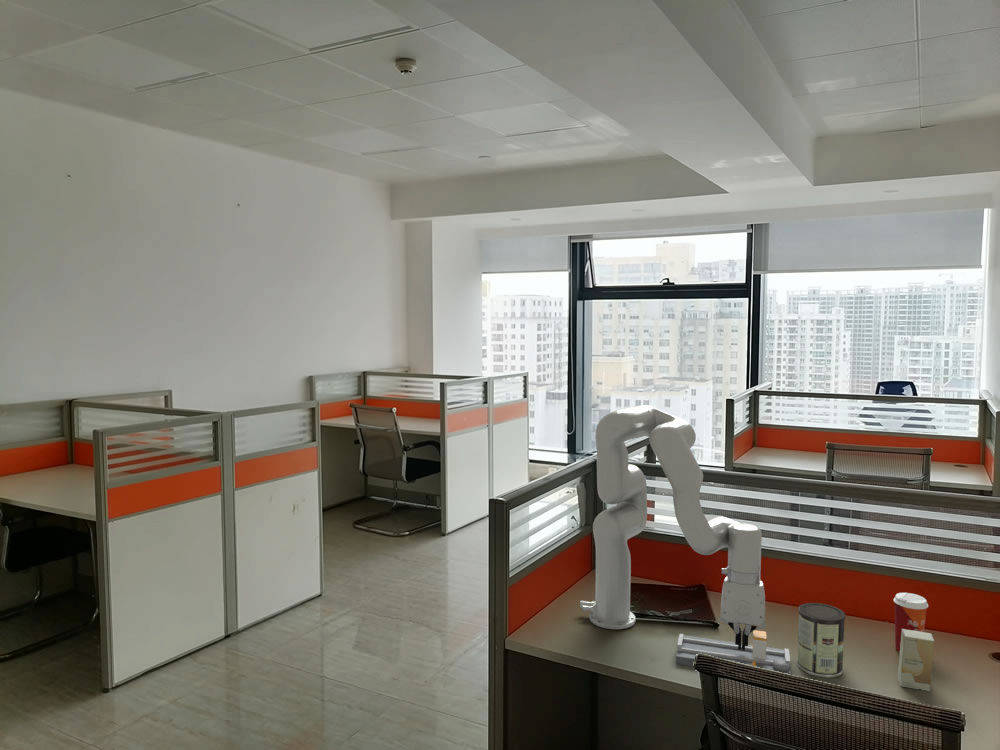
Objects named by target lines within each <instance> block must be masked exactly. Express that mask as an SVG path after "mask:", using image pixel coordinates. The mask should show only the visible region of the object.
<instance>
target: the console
mask: <svg viewBox="0 0 1000 750" xmlns="http://www.w3.org/2000/svg"><path fill="white" fill-rule="evenodd" d="M752 651H753V644H749V643H748V646H745V651H743V650H742V642H741V650H738V645H735V641H734V642H733V641H726V640H719V639H713V638H706V637H705V638H704V637H700V636H692V635H685V634H684V633H679V635H678V640H677V645H676V654H675V664H676V665H681V666H687V667H688V666H689V667H693V662H694V659H695V656H696V654H698V653H702V654H707V655H711V656H714V657H718V658H721V659H726V660H730V661H735V662H740V663H744V664H749V665H752V666H757V667H760V668H765V669H770V670H774V671H779V672H782V673H788V674H790V675H791V655H790V649H789V648H787V647H786V648H777V647H776V648H775V647H769V646H766V660H764V659H757V658H753V656H752Z"/></svg>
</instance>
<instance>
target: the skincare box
mask: <svg viewBox="0 0 1000 750" xmlns="http://www.w3.org/2000/svg"><path fill="white" fill-rule="evenodd" d="M934 648H935V639H934V637H933V634H932V633H929V632H926V631H924V632H920V631H914V630H906V629H902V632H901V644H900V653H899V657H898V670H897V680H898V684H899V686H900V687H904V688H909V689H915V690H919V689H921V690H920V691H925V690H926V691H925V692H930V691H931V685H932V683H931V682H932V671H933V658H934Z"/></svg>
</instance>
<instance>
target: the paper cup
mask: <svg viewBox="0 0 1000 750" xmlns="http://www.w3.org/2000/svg"><path fill="white" fill-rule="evenodd" d="M893 602H894V636H895V637H894V642H895V647H894V648H895V650H896V651H897V653H899V654H900V644H901V632H902V629H906V630H914V631H920V632H925V624H926V618H927V609H928V608H929V604H928V601H927V599H926V598H925V597H923V596H921V595H919V594H916V593H910V592H898V593H896V594H895V596H894V598H893Z"/></svg>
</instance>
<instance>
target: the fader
mask: <svg viewBox="0 0 1000 750" xmlns="http://www.w3.org/2000/svg"><path fill="white" fill-rule="evenodd" d="M752 645H753V651H752V656H753V658H757V659H764V660H766V647H767V631H762V630H756V629H755V630H754V631H752Z"/></svg>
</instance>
